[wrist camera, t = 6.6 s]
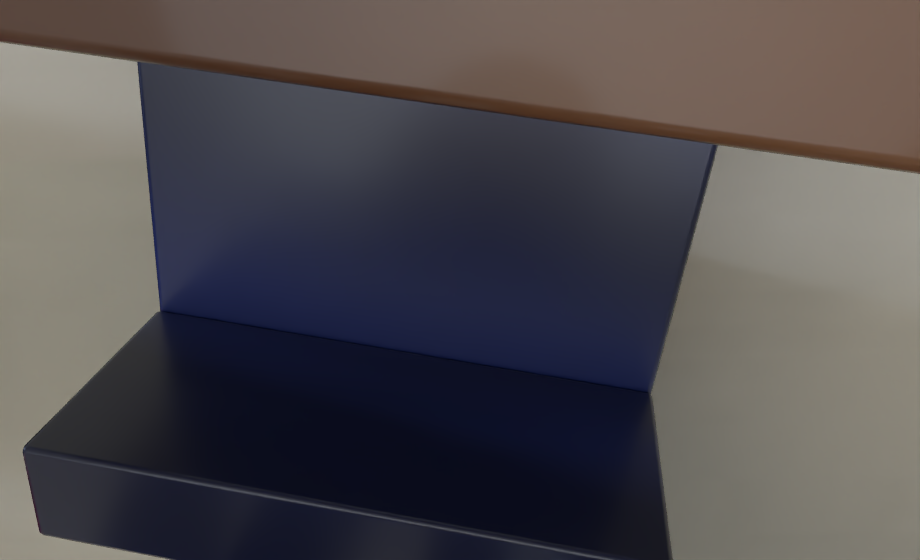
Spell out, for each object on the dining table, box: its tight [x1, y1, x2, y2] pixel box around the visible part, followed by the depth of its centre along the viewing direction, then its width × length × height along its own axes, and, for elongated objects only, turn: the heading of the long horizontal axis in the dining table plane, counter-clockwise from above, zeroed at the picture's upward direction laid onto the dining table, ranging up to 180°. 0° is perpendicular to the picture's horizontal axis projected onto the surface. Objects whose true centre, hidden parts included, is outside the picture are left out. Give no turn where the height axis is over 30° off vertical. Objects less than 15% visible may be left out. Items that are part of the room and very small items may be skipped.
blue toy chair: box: [23, 62, 718, 560], centre depth 10 cm, size 8×6×8 cm
